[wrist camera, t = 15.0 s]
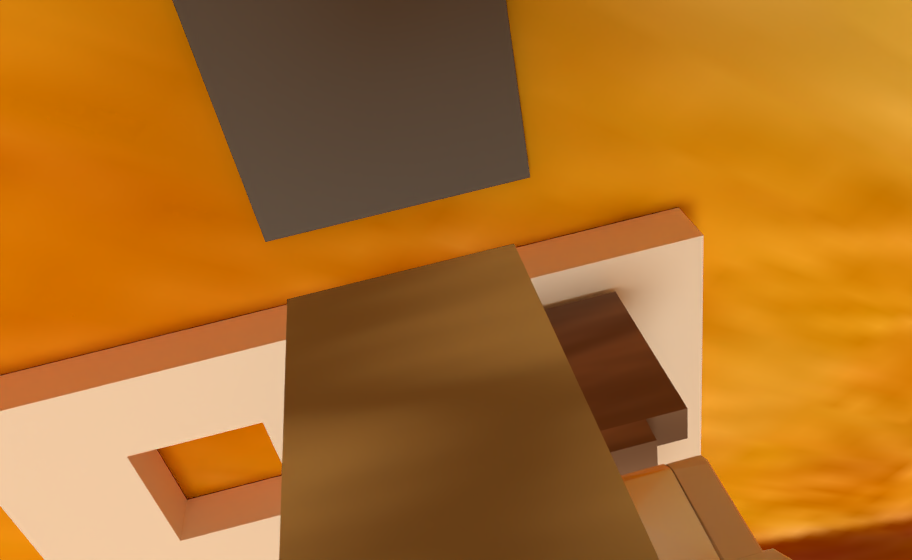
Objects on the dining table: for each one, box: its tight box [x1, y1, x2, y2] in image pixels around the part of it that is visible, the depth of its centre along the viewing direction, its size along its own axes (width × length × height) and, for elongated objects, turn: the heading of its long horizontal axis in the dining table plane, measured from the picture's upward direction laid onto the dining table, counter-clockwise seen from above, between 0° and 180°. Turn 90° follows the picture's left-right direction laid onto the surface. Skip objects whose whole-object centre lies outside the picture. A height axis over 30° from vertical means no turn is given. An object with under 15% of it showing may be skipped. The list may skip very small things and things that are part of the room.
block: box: [279, 244, 659, 560], centre depth 11 cm, size 4×4×7 cm
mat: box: [173, 0, 530, 242], centre depth 27 cm, size 11×11×1 cm
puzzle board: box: [0, 207, 703, 560], centre depth 36 cm, size 14×32×2 cm, turn 100°
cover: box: [544, 292, 688, 475], centre depth 31 cm, size 11×12×8 cm
